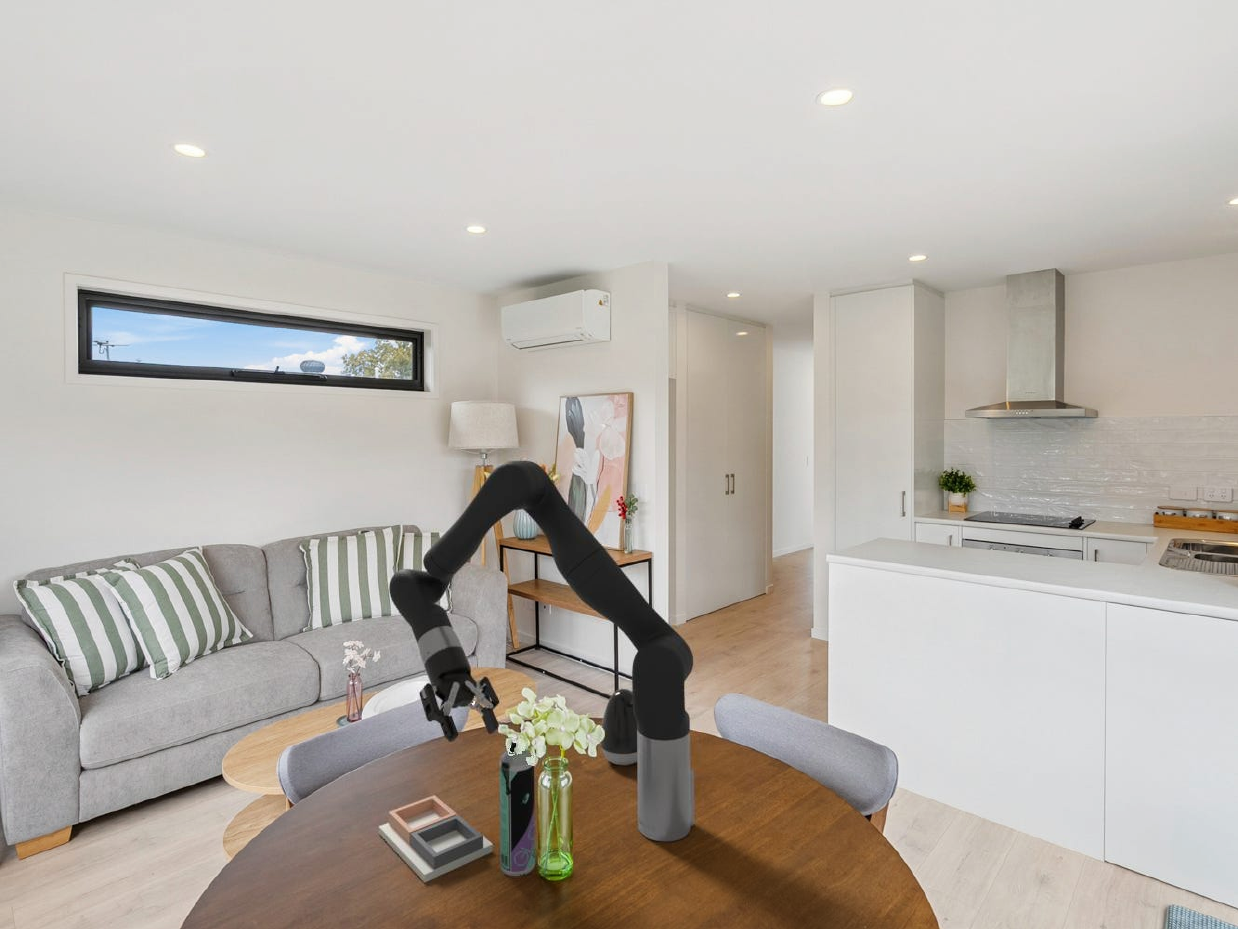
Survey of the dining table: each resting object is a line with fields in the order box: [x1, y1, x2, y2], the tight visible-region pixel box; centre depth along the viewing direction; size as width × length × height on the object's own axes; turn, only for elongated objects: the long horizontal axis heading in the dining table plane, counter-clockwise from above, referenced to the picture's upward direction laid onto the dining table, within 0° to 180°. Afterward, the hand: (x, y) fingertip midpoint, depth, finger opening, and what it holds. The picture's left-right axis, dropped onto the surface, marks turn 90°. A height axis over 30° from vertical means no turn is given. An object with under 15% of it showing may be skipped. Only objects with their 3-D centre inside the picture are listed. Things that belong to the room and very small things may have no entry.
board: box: [378, 794, 494, 883], centre depth 113 cm, size 12×18×3 cm, turn 41°
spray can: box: [498, 741, 536, 877], centre depth 106 cm, size 6×6×20 cm
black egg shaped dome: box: [599, 688, 637, 766], centre depth 143 cm, size 10×10×15 cm
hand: (474, 735), depth 117 cm, fingers open, 8 cm apart
